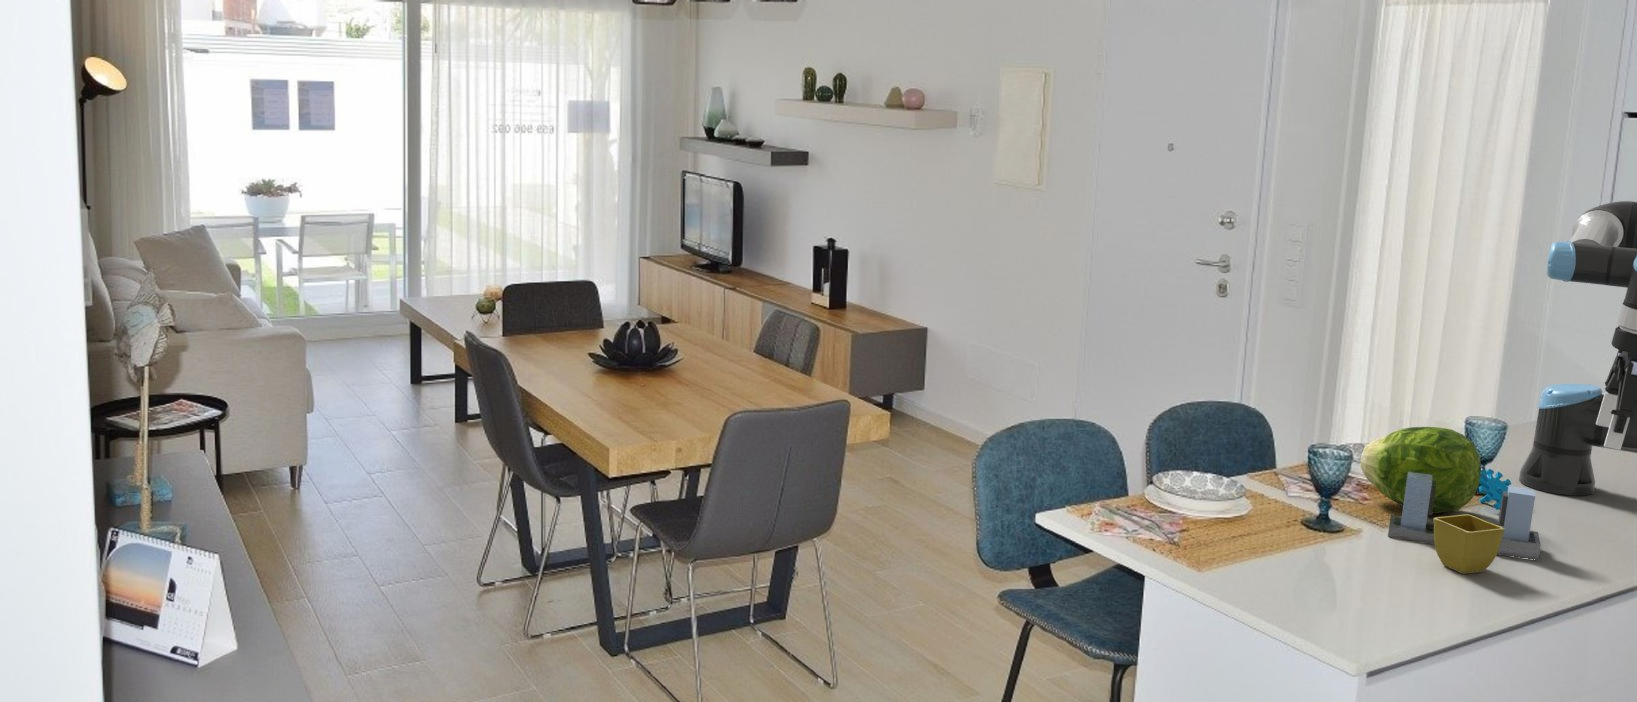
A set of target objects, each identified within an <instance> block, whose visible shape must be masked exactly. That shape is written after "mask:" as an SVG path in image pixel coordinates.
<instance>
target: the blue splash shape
mask: <svg viewBox="0 0 1637 702" xmlns="http://www.w3.org/2000/svg"><path fill="white" fill-rule="evenodd" d="M1494 473H1495V471H1494V470H1493V469H1491V468H1488V469H1486V470H1483V471H1482V470H1481V477H1480V482H1479V485H1480V486H1478V490H1479V491H1478V492H1479V493H1483V494H1486V495H1483V497H1481V498H1480V499H1479V500H1478V501H1479V502H1480V504H1484V503H1486V502H1487V503H1491V502H1492V501H1494V502H1495V503H1493V505H1492V507H1493V508H1494V509H1495V510H1496V511H1498V510H1499V509H1500V507H1501V501H1502V494H1503V491H1508V486H1511V485H1512V482H1511V480H1510V479H1509V478H1506V479H1505V480H1501V478H1503V476H1504V475H1503V473H1501V472H1500V471H1497V472H1496V473H1495V474H1494ZM1493 475H1494V476H1493Z"/></svg>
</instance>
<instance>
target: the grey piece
mask: <svg viewBox="0 0 1637 702" xmlns="http://www.w3.org/2000/svg"><path fill="white" fill-rule="evenodd" d="M1435 490H1436V481H1432V475H1428V474H1422V473H1415V472H1408V475H1407V482H1406V489H1405V497H1404V504H1403V505H1402V512H1401V513H1402V514H1401V515H1396V514H1395V515H1394V514H1390V516H1389V517H1390V518H1389V525H1388V534H1387V537H1389V538H1392V539H1393V538H1394V539H1399V540H1405V541H1406V540H1407V541H1413V542H1418V543H1425V544H1430V545H1435V543H1434V520H1433V521H1432V520H1428V516H1433V513H1432V511H1433V504H1434V497H1435ZM1500 527H1502V526H1500ZM1541 546H1542V545H1541V540H1540V535H1539V532H1538V531H1533V530H1530V533H1529V539H1528V542H1525V541H1518V540H1512V539H1506V538H1502V540H1501V543H1500V547H1499V550H1498V553H1497V554H1500V555H1499V556H1503V555H1505V556H1504V557H1509V556H1514V557H1513V558H1515V557H1520V558H1519V559H1521V558H1528V559H1533V560H1534V559H1535V560H1538V561H1539V560H1540V559H1539V558H1540V553H1541ZM1533 560H1532V561H1533Z"/></svg>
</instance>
